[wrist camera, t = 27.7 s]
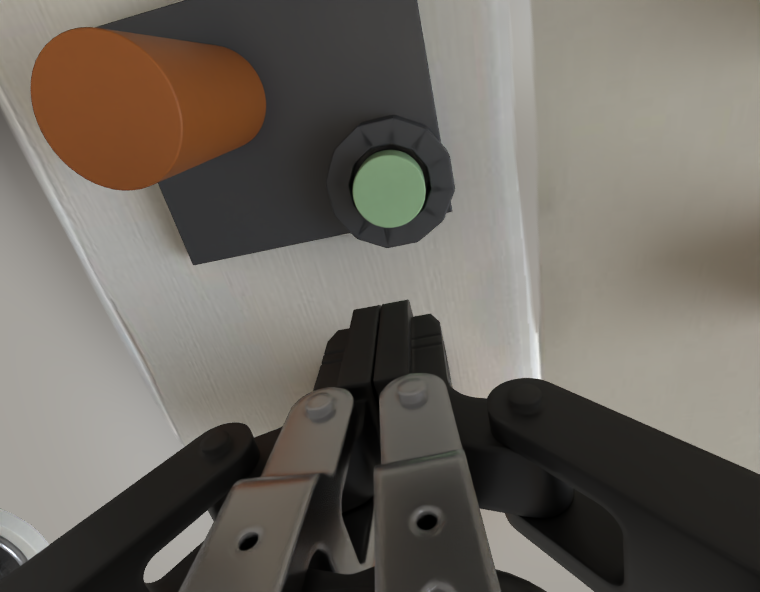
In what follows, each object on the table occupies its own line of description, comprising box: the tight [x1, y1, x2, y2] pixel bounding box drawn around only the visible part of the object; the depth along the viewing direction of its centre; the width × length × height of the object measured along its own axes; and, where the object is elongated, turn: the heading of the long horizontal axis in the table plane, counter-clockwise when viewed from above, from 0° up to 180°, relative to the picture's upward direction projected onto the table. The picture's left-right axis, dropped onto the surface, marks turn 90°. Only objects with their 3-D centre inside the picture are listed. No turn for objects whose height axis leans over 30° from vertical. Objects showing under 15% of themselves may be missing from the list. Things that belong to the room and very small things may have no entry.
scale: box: [95, 0, 455, 265], centre depth 25 cm, size 16×14×4 cm
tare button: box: [352, 150, 426, 228], centre depth 23 cm, size 4×4×2 cm
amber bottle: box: [31, 27, 266, 190], centre depth 20 cm, size 5×5×10 cm
